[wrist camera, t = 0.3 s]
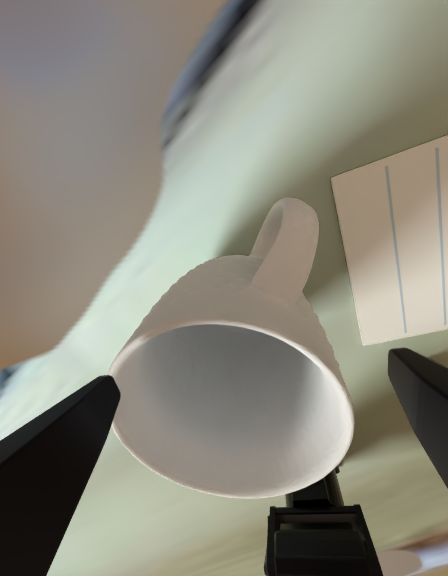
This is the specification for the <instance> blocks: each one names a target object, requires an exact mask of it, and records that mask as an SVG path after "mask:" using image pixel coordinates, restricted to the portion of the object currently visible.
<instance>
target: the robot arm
mask: <svg viewBox="0 0 448 576" xmlns="http://www.w3.org/2000/svg"><path fill="white" fill-rule="evenodd" d="M388 375H389V379H390V381H391V383H392V386H393V388H394V390H395V392H396V394H397V396H398V398H399V401H400V403H401V405H402V407H403V409H404V411H405V413H406V416H407V418H408V420H409V422H410V424H411V426H412V428H413V430H414V432H415V434H416V436H417V438H418V439H419V441H420V443H421V445H422V446H423V448H424V450H425V451H426V453H427V455H428V456H429V458H430V460H431V461H432V463H433V465H434V466H435V468H436V470H437V471H438V473H439V475H440V476H441V478H442V480H443V481H444V483H445V485H446V486H447V488H448V368H447V367H445V366H443V365H441V364H439V363H437V362H435V361H433V360H431V359H429V358H426V357H424V356H422V355H420V354H418V353H416V352H414V351H412V350H410V349H408V348H394V349H390V350H389V353H388ZM120 398H121V393H120V390H119V388H118V386H117V384H116V382H115V380H114V378H113V377H112V376H111V375H104V376H99V377H97V378H96V379H94V380H93V381H91V382H89V383H88V384H86V385H85V386H83V387H82V388H80V389H79V390H77V391H76V392H74V393H73V394H71V395H70V396H68V397H67V398H65V399H64V400H62V401H60V402H59V403H57V404H56V405H54V406H53V407H51V408H50V409H48V410H47V411H45V412H44V413H42V414H41V415H39V416H38V417H36V418H34V419H33V420H31V421H30V422H28V423H27V424H25V425H24V426H22V427H21V428H19V429H18V430H16V431H15V432H13V433H12V434H10V435H8V436H7V437H5V438H4V439H2V440H1V441H0V576H46V575H47V573H48V571H49V568H50V566H51V564H52V562H53V559H54V557H55V555H56V552H57V550H58V548H59V546H60V543H61V541H62V539H63V537H64V534H65V532H66V530H67V528H68V525H69V523H70V521H71V519H72V516H73V514H74V512H75V510H76V507H77V505H78V503H79V501H80V498H81V496H82V494H83V492H84V489H85V487H86V485H87V483H88V480H89V478H90V476H91V474H92V471H93V469H94V467H95V465H96V462H97V460H98V458H99V456H100V453H101V451H102V449H103V446H104V444H105V441H106V439H107V436H108V433H109V430H110V427H111V425H112V422H113V419H114V416H115V413H116V410H117V407H118V404H119V401H120ZM338 473H339V467H338V465H337V466H336V467H335V468H334V469H333V470H332V471H331V472H330V473H329V474H327V475H326V476H325V477H324V478H322V479H321V480H319V481H317V482H315V483H313V484H311V485H309V486H307V487H305V488H303V489H300V490H297V491H295V492H291V493H288V494H285V496H286V507H275V506H270V515H269V516H268V537H267V549H266V556H265V562H264V572H265V575H266V576H383V574H382V570H381V567H380V564H379V561H378V557H377V555H376V551H375V548H374V545H373V542H372V539H371V536H370V533H369V530H368V527H367V525H366V522H365V519H364V516H363V513H362V510H361V507H360V504H355V505H354V506H344V502H343V499H342V495H341V491H340V487H339V483H338V479H337V476H336V474H338Z"/></svg>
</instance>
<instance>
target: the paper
mask: <svg viewBox="0 0 448 576" xmlns="http://www.w3.org/2000/svg"><path fill="white" fill-rule="evenodd" d="M330 179H331V184H332V189H333V195H334V200H335V205H336V210H337V215H338V221H339V226H340V231H341V236H342V241H343V246H344V252H345V257H346V262H347V267H348V272H349V277H350V283H351V288H352V293H353V298H354V303H355V309H356V314H357V319H358V324H359V329H360V334H361V340H362V344H363V346H366V345H371V344H376V343H381V342H386V341H391V340H396V339H401V338H406V337H411V336H416V335H421V334H427V333H432V332H437V331H442V330H447V329H448V135H446V136H443V137H440V138H438V139H435V140H432V141H430V142H427V143H424V144H421V145H419V146H416V147H413V148H410V149H408V150H405V151H402V152H400V153H397V154H394V155H391V156H389V157H386V158H383V159H380V160H378V161H375V162H372V163H370V164H367V165H364V166H361V167H359V168H356V169H353V170H350V171H348V172H345V173H342V174H340V175H337V176H334V177H331V178H330Z"/></svg>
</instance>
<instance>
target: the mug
mask: <svg viewBox="0 0 448 576" xmlns="http://www.w3.org/2000/svg"><path fill="white" fill-rule="evenodd" d="M318 238H319V221H318V216H317V214H316V212H315V211H314V209H313V208H312V207H311V206H310V205H308V204H307V203H305V202H303V201H301V200H299V199H296V198H291V197H284V198H281V199H279V200H278V201H277V202H276V203H275V204H274V205H273V206H272V208H271V209H270V211H269V213H268V215H267V217H266V219H265V221H264V223H263V225H262V228H261V230H260V232H259V235H258V237H257V239H256V242H255V244H254V246H253V249H252V251H251V253H250V255H249V256H245V255H230V256H223V257H217V258H214V259H212V260H209V261H206V262H205V263H203V264H200V265H198V266H197V267H196V268H194V269H192V270H190V271H189V272H188V273H187V274H186V275H185V276H183V277H181V278H179V280H178V281H177V283H175V284H173V285H172V286H171V287H170V289H169V290H168V291H167V292H166V293H165V294H164V295H162V297H161V298H160V300H159V301H158V302H157V303H156V304H155V305H154V306H153V307H152V309H151V311H150V313H149V314H148V315H147V316H146V317H145V318H144V319H143V320H142V322H141V324H140V326H139V327H138V328H137V329H136V330H135V332H134V334H133V335H132V336H131V337H130V339H129V340H128V341H127V343H126V344H125V345H124V347H123V348H122V349H121V351H120V352H119V354H118V355H117V356H116V358H115V360H114V361H113V363H112V365H111V367H110V369H109V372H108V375H111V376H112V377H113V378H114V380H115V382H116V384H117V386H118V388H119V390H120V393H121V398H120V401H119V404H118V407H117V410H116V413H115V416H114V419H113V422H112V425H111V426H112V428H113V430H114V432H115V434H116V435H117V437H118V439H119V440H120V441H121V443H122V444H123V445H124V446H125V447H126V449H127V450H128V451H129V452H130V453H131V454H132V455H133V456H134V457H135V458H136V459H137V460H138V461H140V462H141V463H142V464H143V465H145V466H146V467H147V468H149V469H150V470H152V471H153V472H155V473H157V474H158V475H160V476H162V477H164V478H166V479H168V480H170V481H172V482H174V483H176V484H178V485H181V486H184V487H187V488H190V489H193V490H196V491H199V492H204V493H208V494H212V495H217V496H222V497H230V498H249V499H254V498H267V497H274V496H279V495H284V494H288V493H291V492H295V491H297V490H300V489H303V488H305V487H307V486H309V485H311V484H313V483H315V482H317V481H319V480H321V479H322V478H324V477H325V476H326V475H327V474H329V473H330V472H331V471H332V470H333V469H334V468H335V467H336V466H337V465H338V464H339V463H340V462H341V460H342V459H343V458H344V456H345V455H346V453H347V451H348V449H349V447H350V445H351V442H352V439H353V433H354V410H353V406H352V402H351V399H350V395H349V393H348V390H347V387H346V385H345V382H344V380H343V377H342V375H341V372H340V369H339V364H338V362H337V361H336V359H335V356H334V352H333V349H332V346H331V344H330V343H329V342H328V340H327V338H326V334H325V331H324V329H323V327H322V326H321V325H320V323H319V319H318V316H317V315H316V314H315V313H314V311H313V309H312V306H311V304H310V303H309V302H308V301H307V300H306V298H305V295H304V294H303V293H302V291H303V289H304V287H305V284H306V282H307V280H308V277H309V274H310V271H311V268H312V265H313V261H314V258H315V253H316V249H317V245H318Z"/></svg>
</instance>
